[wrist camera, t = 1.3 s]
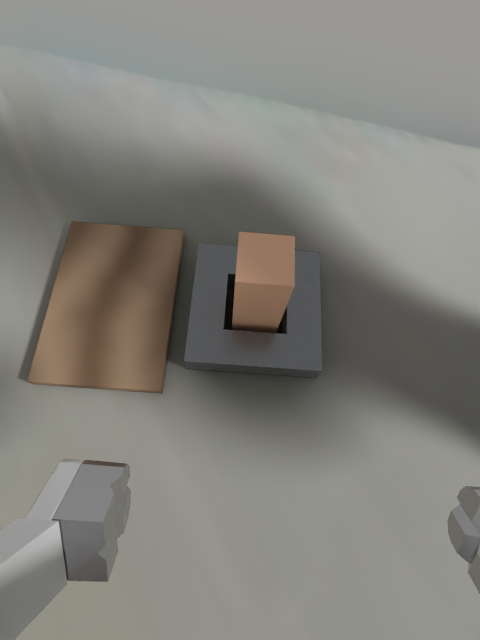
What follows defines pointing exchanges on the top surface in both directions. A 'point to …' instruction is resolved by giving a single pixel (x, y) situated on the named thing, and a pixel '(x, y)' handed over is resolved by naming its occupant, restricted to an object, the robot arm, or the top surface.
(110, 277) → the board
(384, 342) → the top surface
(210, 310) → the socket
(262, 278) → the peg
